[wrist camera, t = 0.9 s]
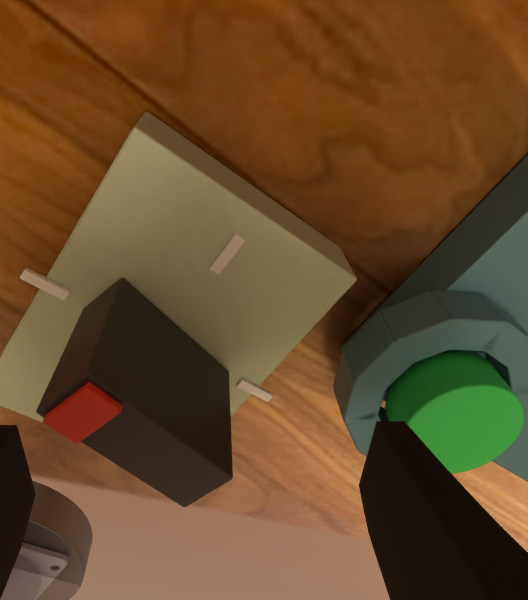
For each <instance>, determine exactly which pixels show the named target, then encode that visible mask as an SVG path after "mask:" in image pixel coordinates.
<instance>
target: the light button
mask: <svg viewBox="0 0 528 600" xmlns="http://www.w3.org/2000/svg"><path fill="white" fill-rule="evenodd" d="M386 414H387V417H388V420H389V421H405V422H406V424H407V425H408V426H409V427H410V428H411V429H412V430H413V431H414V433H415V434H416V435H417V436H418V437H419V438H420V439H421V440H422V441H423V443H424V444H425V445H426V446H427V447H428V448H429V449H430V450H431V452H432V453H433V454H434V455H435V456H436V457H437V458H438V459H439V461H440V462H441V463H442V464H443V465H444V466H445V467H446V468H447V469H448V471H449V472H450V473H451V474H452V473H459V472H464V471H468V470H471V469H474V468H477V467H479V466H482V465H484V464H486V463H488V462H490V461H491V460H493V459H495V458H496V457H498V456H499V455H501V454H502V453H503V452H504V451H505V450H507V449H508V448H509V447H510V446H511V445H512V443H513V442H514V441H515V440H516V438H517V437H518V435H519V433H520V431H521V429H522V426H523V423H524V409H523V406H522V403H521V401H520V400H519V398H518V397H517V396H516V395H515V393H514V392H513V391H512V390H511V388H510V387H509V386H508V385H507V383H506V382H505V381H504V379H503V378H502V377H501V376H500V374H499V373H498V372H497V371H496V369H495V368H494V367H493V366H492V365H491V363H490V362H488V361H487V360H486V359H484V358H482V357H481V356H478V355H476V354H473V353H468V352H461V351H452V352H444V353H439V354H437V355H434V356H431V357H429V358H426V359H423V360H421V361H418V362H417V363H415V364H413V365H412V366H410V367H409V368H408V369H407V370H406V371H405V372H404V373H403V374H401V375H400V376H399V377H398V378H397V379H396V380H395V382H394V383H393V385H392V386H391V388H390V390H389V392H388V395H387V399H386Z"/></svg>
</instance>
